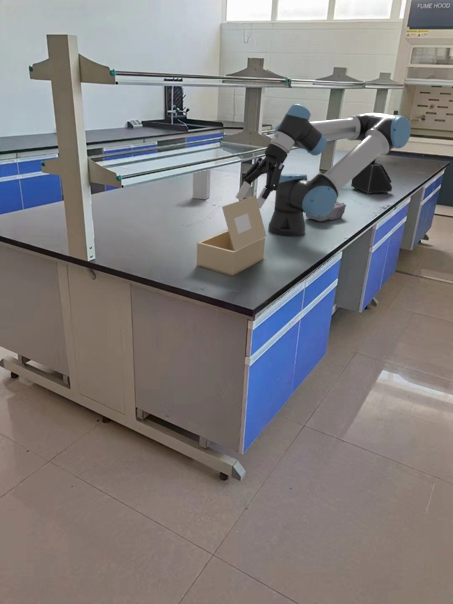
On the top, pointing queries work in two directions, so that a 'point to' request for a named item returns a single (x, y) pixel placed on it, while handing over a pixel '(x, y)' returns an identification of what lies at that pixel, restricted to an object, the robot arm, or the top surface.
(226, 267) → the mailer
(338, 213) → the grey rock
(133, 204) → the top surface
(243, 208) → the lid
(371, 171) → the voltmeter
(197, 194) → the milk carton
